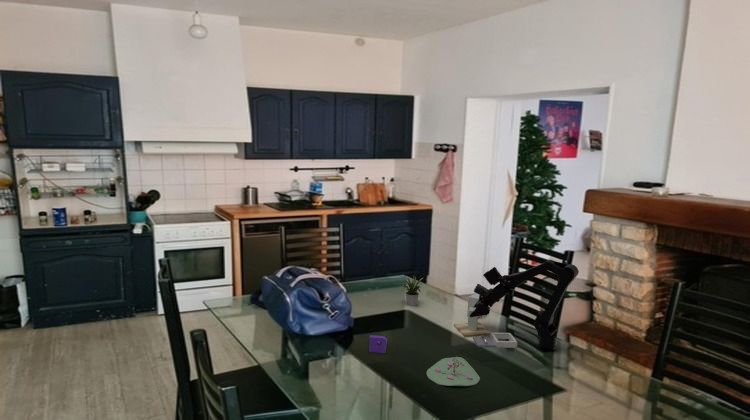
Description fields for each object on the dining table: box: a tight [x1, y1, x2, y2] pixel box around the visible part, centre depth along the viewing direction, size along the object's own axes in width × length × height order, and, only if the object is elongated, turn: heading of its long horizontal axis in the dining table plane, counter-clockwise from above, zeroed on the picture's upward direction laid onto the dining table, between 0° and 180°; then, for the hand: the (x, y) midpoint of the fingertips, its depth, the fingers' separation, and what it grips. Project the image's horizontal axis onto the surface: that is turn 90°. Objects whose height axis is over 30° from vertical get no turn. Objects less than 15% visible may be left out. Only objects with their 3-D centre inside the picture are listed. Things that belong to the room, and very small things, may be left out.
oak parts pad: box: [453, 322, 491, 338], centre depth 231 cm, size 13×13×1 cm
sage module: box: [467, 307, 479, 331], centre depth 230 cm, size 4×5×10 cm
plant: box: [426, 355, 481, 387], centre depth 191 cm, size 25×21×9 cm
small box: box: [466, 292, 482, 319], centre depth 249 cm, size 8×6×10 cm
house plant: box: [400, 274, 424, 307], centre depth 261 cm, size 14×14×16 cm
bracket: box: [368, 334, 388, 354], centre depth 211 cm, size 12×7×7 cm, turn 175°
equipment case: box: [472, 332, 518, 349], centre depth 218 cm, size 17×10×2 cm, turn 93°
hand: (471, 313), depth 230 cm, fingers open, 9 cm apart
